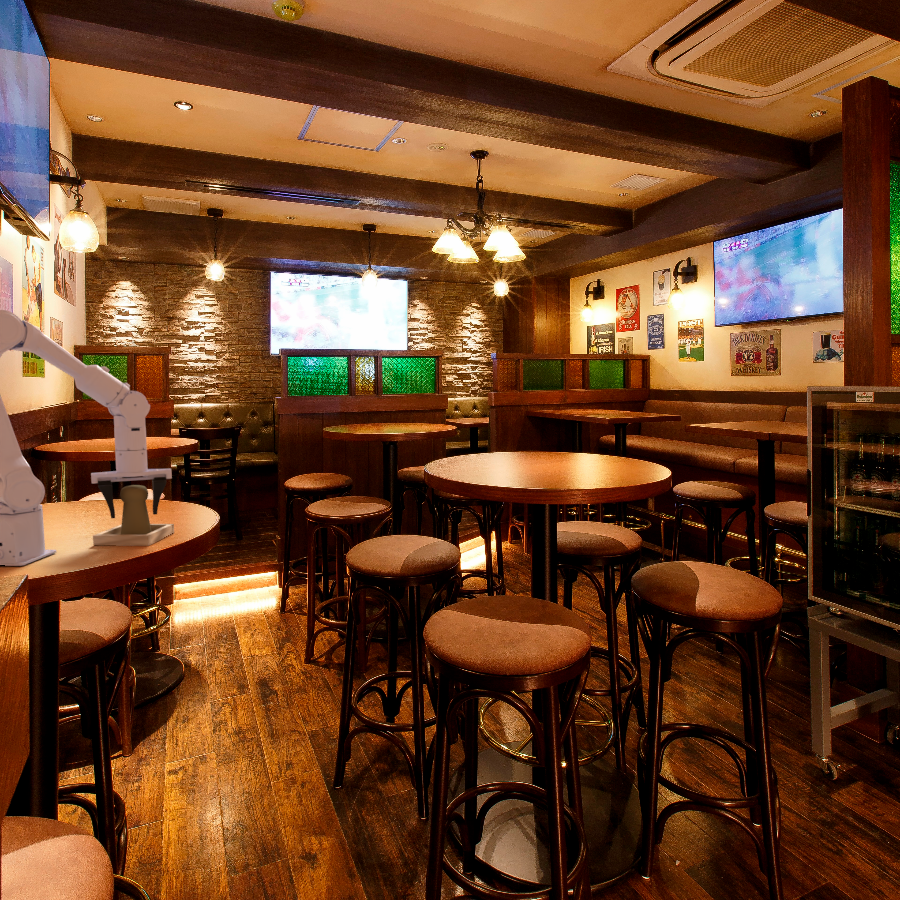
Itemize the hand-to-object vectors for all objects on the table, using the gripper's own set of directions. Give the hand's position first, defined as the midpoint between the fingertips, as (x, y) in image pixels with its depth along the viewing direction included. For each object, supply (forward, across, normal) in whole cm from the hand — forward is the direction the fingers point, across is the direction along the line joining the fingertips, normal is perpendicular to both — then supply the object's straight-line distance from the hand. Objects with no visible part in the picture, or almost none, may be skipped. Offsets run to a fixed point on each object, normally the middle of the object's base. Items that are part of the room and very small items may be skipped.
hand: (134, 515), depth 127 cm
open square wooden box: (+5, 0, 0) cm, 5 cm away
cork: (+5, 0, -1) cm, 5 cm away
